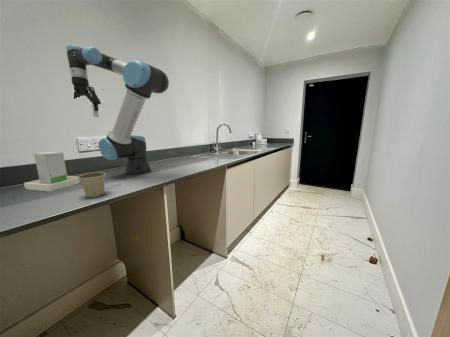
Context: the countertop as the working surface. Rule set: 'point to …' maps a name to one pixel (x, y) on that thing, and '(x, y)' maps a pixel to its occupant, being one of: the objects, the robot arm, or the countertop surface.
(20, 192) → the countertop surface
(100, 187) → the flower pot
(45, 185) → the tray
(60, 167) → the skincare box
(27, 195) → the countertop surface
